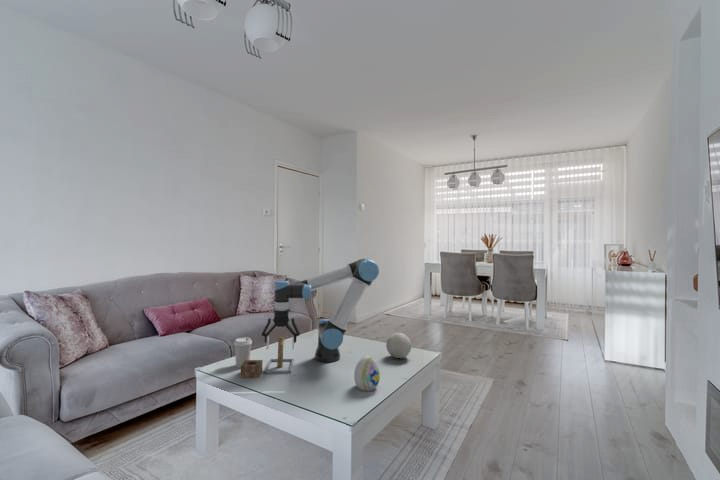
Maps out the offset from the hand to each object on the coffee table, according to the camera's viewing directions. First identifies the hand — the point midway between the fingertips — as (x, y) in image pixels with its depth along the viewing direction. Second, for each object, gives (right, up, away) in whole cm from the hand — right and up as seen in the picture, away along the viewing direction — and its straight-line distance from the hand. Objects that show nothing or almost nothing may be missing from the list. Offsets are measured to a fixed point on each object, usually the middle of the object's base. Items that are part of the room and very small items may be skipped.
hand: (280, 348), depth 187 cm
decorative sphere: (+67, -13, +22) cm, 71 cm away
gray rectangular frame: (0, -11, 0) cm, 11 cm away
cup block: (-12, -10, -11) cm, 20 cm away
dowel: (0, -10, 0) cm, 10 cm away
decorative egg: (+46, -12, -22) cm, 53 cm away
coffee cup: (-21, -10, 0) cm, 23 cm away
